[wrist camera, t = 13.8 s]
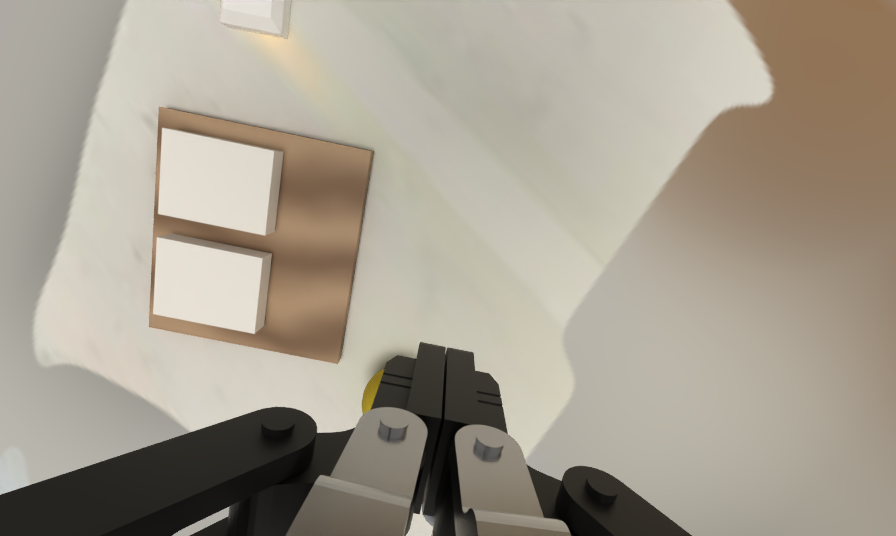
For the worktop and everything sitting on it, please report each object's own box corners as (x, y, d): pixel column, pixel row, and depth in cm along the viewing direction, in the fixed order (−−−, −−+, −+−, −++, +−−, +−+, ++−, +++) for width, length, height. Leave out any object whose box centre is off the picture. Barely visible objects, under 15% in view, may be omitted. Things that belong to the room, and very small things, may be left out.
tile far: (273, 253, 40) (173, 232, 40) (262, 258, 38) (156, 237, 38) (265, 324, 42) (169, 305, 41) (254, 333, 40) (152, 314, 39)
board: (168, 108, 38) (159, 106, 37) (373, 151, 39) (371, 151, 38) (157, 322, 43) (148, 326, 42) (340, 358, 44) (337, 363, 43)
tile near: (284, 151, 38) (179, 129, 38) (274, 150, 36) (162, 127, 36) (275, 231, 40) (174, 210, 39) (265, 235, 37) (157, 213, 37)
